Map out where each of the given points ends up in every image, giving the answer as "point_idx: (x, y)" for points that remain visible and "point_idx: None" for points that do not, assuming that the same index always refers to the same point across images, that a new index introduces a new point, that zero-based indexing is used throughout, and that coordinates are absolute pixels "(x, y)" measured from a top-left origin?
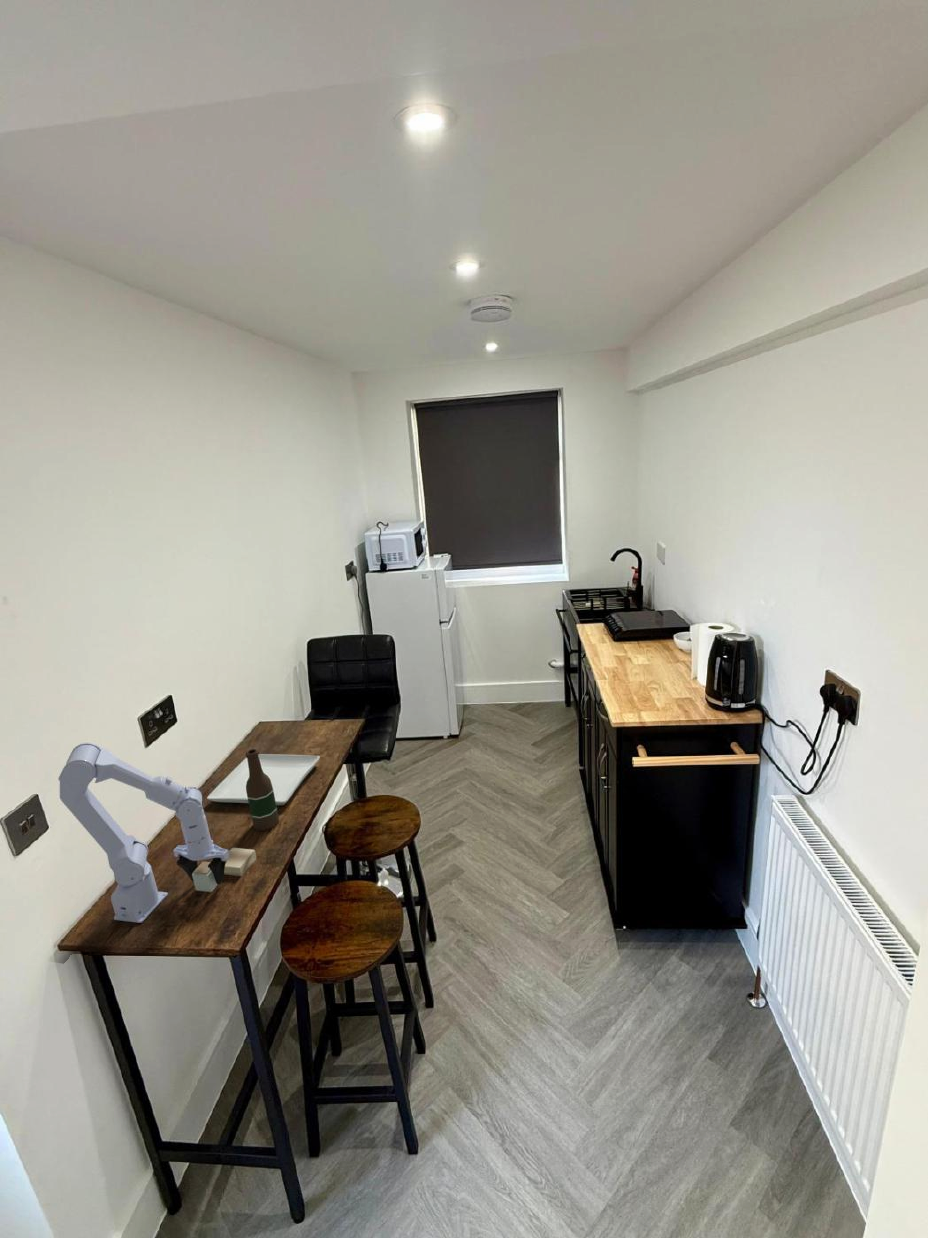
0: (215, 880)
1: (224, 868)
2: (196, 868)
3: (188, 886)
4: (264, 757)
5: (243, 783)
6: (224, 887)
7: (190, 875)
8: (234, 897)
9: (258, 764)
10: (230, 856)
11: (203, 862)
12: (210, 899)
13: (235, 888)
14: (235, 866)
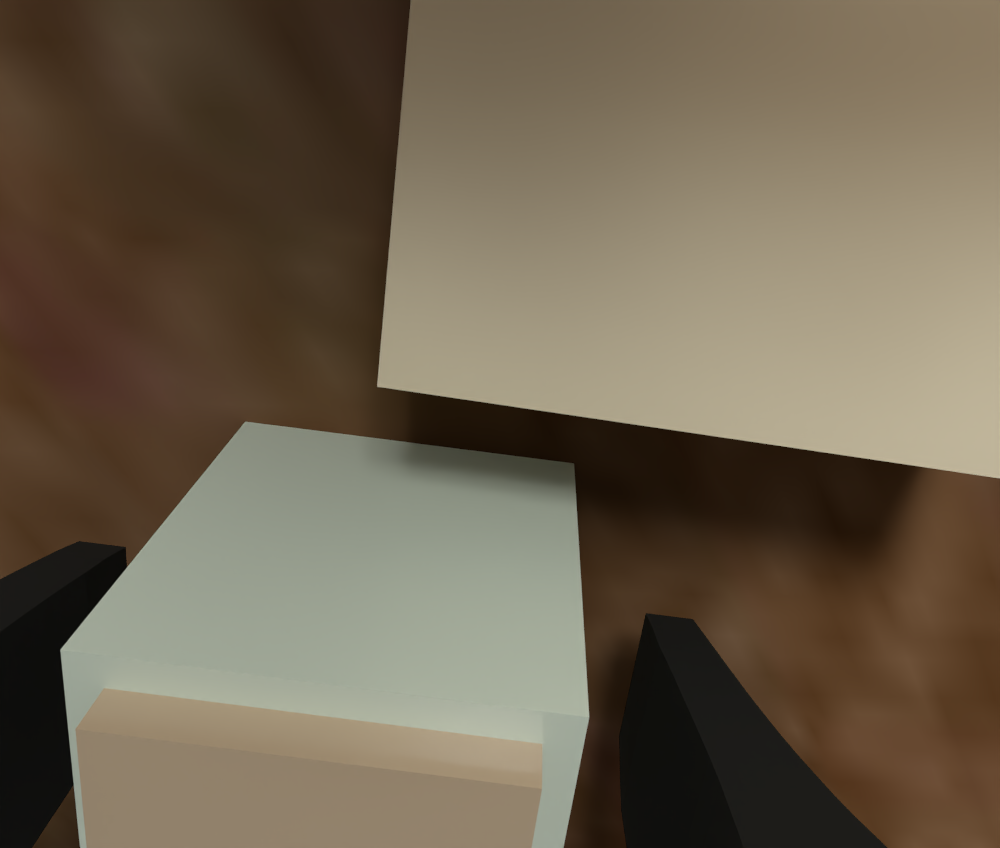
0: (632, 843)
1: (807, 773)
2: (2, 686)
3: None
4: None
5: None
6: (710, 639)
7: (26, 838)
8: (966, 821)
9: None
10: (618, 17)
11: (123, 765)
12: (591, 839)
13: (923, 663)
14: (933, 442)
